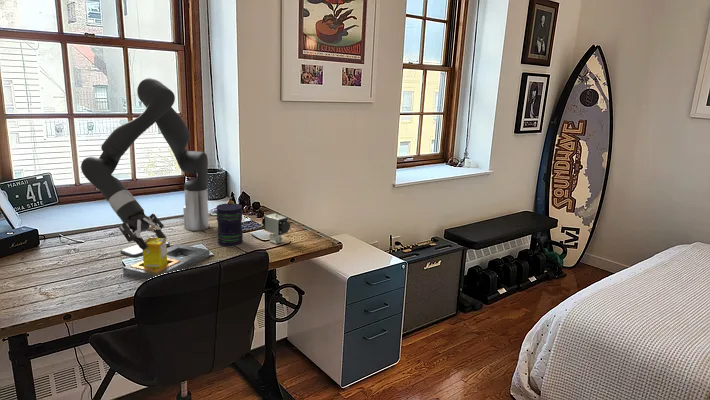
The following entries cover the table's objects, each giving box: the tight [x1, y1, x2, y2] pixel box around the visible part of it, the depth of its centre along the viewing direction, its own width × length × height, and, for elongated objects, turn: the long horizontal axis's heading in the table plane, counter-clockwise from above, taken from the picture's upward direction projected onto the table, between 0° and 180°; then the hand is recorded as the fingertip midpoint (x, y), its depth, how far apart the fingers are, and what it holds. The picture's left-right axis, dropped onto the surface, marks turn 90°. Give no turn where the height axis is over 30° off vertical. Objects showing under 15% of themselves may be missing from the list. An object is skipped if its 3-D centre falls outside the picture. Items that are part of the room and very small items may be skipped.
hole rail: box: [122, 243, 210, 281], centre depth 168 cm, size 14×26×3 cm, turn 159°
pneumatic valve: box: [261, 212, 291, 245], centre depth 194 cm, size 6×12×12 cm, turn 53°
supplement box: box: [142, 237, 168, 270], centre depth 161 cm, size 6×6×11 cm
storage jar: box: [216, 202, 244, 248], centre depth 191 cm, size 10×10×15 cm
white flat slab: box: [120, 241, 171, 258], centre depth 182 cm, size 9×2×16 cm
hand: (155, 244), depth 160 cm, fingers open, 8 cm apart
